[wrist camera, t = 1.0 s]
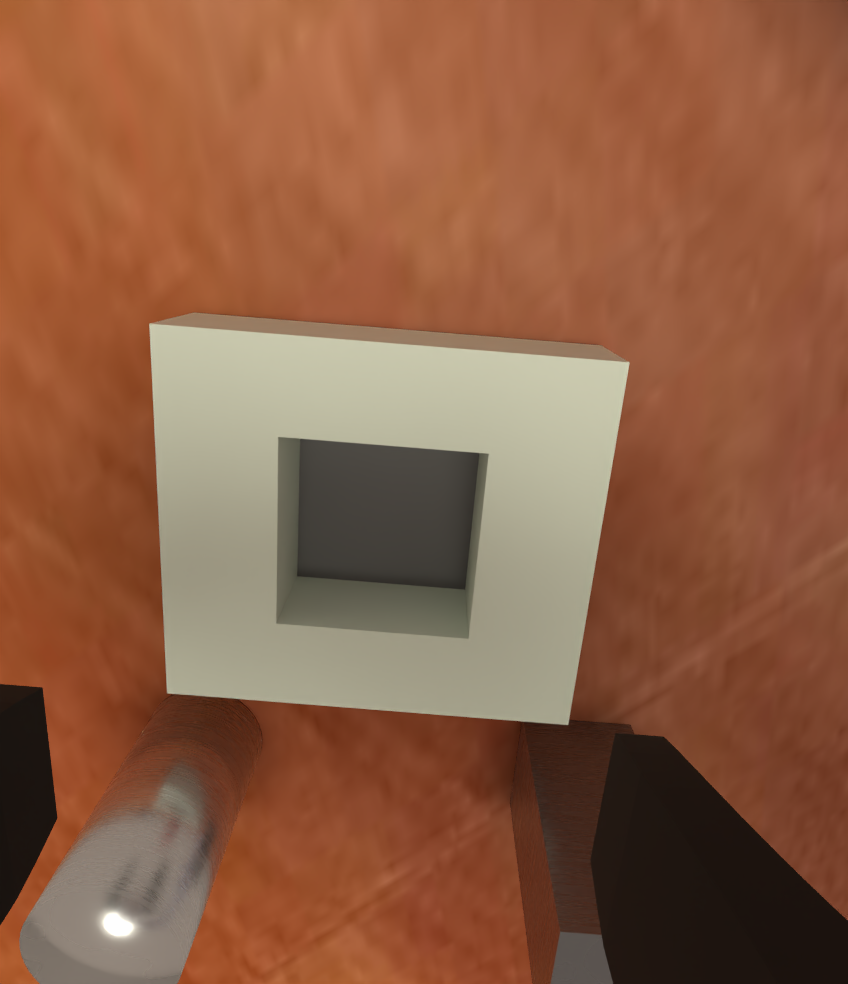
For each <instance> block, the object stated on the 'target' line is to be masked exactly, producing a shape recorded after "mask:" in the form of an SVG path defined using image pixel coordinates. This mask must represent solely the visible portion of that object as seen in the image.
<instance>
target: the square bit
mask: <svg viewBox="0 0 848 984" xmlns="http://www.w3.org/2000/svg"><path fill="white" fill-rule="evenodd" d="M615 733H623V734H634V733H633V730H632V728H631V725H625V724H612V723H599V722H587V721H574V720H569V723H568V725H562V724H549V723H536V722H524V721H522V724H521V730H520V737H519V744H518V751H517V758H516V765H515V772H514V779H513V786H512V793H511V800H510V807H511V815H512V823H513V831H514V839H515V847H516V855H517V863H518V871H519V879H520V887H521V895H522V903H523V911H524V919H525V927H526V935H527V943H528V951H529V959H530V967H531V975H532V983H533V984H613V981H612V978H611V974H610V970H609V966H608V962H607V958H606V954H605V950H604V947H603V941H602V935H601V928H600V922H599V916H598V910H597V904H596V897H595V890H594V883H593V876H592V869H591V862H590V858H591V853H592V848H593V843H594V838H595V833H596V828H597V823H598V818H599V812H600V807H601V802H602V797H603V792H604V787H605V782H606V777H607V772H608V766H609V761H610V756H611V751H612V746H613V741H614V736H615Z"/></svg>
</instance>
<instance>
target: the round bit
mask: <svg viewBox="0 0 848 984" xmlns="http://www.w3.org/2000/svg"><path fill="white" fill-rule="evenodd" d="M261 748H262V734H261V730H260V727H259V724H258V722H257V720H256V718H255V717H254V715H253V714H252V713H251V711H250V710H249V709H248V708H247V707H246V706H245V705H243V704H242V703H241V702H240V701H238V700H237V699H233V698H221V697H208V696H195V695H183V694H173V695H171V696H169V697H168V698H167V699H165V700H164V701H163V702H162V703H161V704H160V705H159V706H158V707H157V709H156V710H155V712H154V713H153V715H152V717H151V718H150V720H149V721H148V723H147V725H146V726H145V728H144V729H143V731H142V733H141V734H140V736H139V738H138V739H137V741H136V742H135V744H134V746H133V747H132V749H131V751H130V752H129V754H128V755H127V757H126V759H125V760H124V762H123V763H122V765H121V767H120V768H119V770H118V772H117V773H116V775H115V776H114V778H113V780H112V781H111V783H110V785H109V786H108V788H107V789H106V791H105V793H104V794H103V796H102V797H101V799H100V801H99V802H98V804H97V806H96V807H95V809H94V810H93V812H92V814H91V815H90V817H89V818H88V820H87V822H86V823H85V825H84V827H83V828H82V830H81V831H80V833H79V835H78V836H77V838H76V840H75V841H74V843H73V844H72V846H71V848H70V849H69V851H68V852H67V854H66V856H65V857H64V859H63V861H62V862H61V864H60V865H59V867H58V869H57V870H56V872H55V874H54V875H53V877H52V878H51V880H50V882H49V883H48V885H47V886H46V888H45V890H44V891H43V893H42V895H41V896H40V898H39V899H38V901H37V903H36V904H35V906H34V907H33V909H32V911H31V912H30V914H29V916H28V917H27V919H26V921H25V923H24V924H23V927H22V930H21V933H20V940H19V941H20V951H21V955H22V958H23V960H24V963H25V965H26V967H27V968H28V970H29V972H30V973H31V974H32V975H33V977H34V978H35V979H36V980H37V981H38V982H39V983H40V984H177V983H178V981H179V978H180V976H181V973H182V971H183V968H184V965H185V962H186V959H187V957H188V954H189V951H190V948H191V945H192V943H193V940H194V937H195V934H196V931H197V929H198V926H199V923H200V920H201V917H202V915H203V912H204V909H205V906H206V903H207V901H208V898H209V895H210V892H211V889H212V887H213V884H214V881H215V878H216V875H217V873H218V870H219V867H220V864H221V861H222V859H223V856H224V853H225V850H226V847H227V845H228V842H229V839H230V836H231V833H232V831H233V828H234V825H235V822H236V819H237V817H238V814H239V811H240V808H241V805H242V803H243V800H244V797H245V794H246V791H247V789H248V786H249V783H250V780H251V777H252V775H253V772H254V769H255V766H256V763H257V761H258V758H259V755H260V752H261Z"/></svg>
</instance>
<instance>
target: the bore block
mask: <svg viewBox="0 0 848 984" xmlns="http://www.w3.org/2000/svg"><path fill="white" fill-rule="evenodd" d="M149 325H150V346H151V367H152V388H153V409H154V430H155V451H156V472H157V493H158V514H159V535H160V555H161V576H162V597H163V618H164V639H165V660H166V681H167V693H170V694H183V695H195V696H208V697H221V698H233V699H246V700H259V701H271V702H284V703H297V704H309V705H322V706H334V707H347V708H360V709H372V710H385V711H398V712H410V713H423V714H435V715H448V716H461V717H473V718H486V719H499V720H511V721H524V722H536V723H549V724H562V725H568V723H569V717H570V711H571V705H572V699H573V693H574V687H575V682H576V676H577V670H578V664H579V658H580V652H581V646H582V640H583V634H584V628H585V623H586V617H587V611H588V605H589V599H590V593H591V587H592V581H593V575H594V569H595V564H596V558H597V552H598V546H599V540H600V534H601V528H602V522H603V516H604V510H605V505H606V499H607V493H608V487H609V481H610V475H611V469H612V463H613V457H614V451H615V446H616V440H617V434H618V428H619V422H620V416H621V410H622V404H623V398H624V392H625V387H626V381H627V375H628V369H629V363H630V362H628V361H626V360H625V359H623V358H621V357H620V356H618V355H616V354H615V353H613V352H611V351H610V350H608V349H606V348H605V347H603V346H601V345H590V344H578V343H566V342H553V341H541V340H528V339H516V338H503V337H491V336H479V335H466V334H454V333H441V332H429V331H417V330H404V329H392V328H379V327H367V326H355V325H342V324H330V323H317V322H305V321H292V320H280V319H268V318H255V317H243V316H230V315H218V314H206V313H190V314H186V315H182V316H178V317H174V318H170V319H166V320H162V321H158V322H154V323H150V324H149Z"/></svg>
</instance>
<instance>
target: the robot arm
mask: <svg viewBox="0 0 848 984" xmlns="http://www.w3.org/2000/svg"><path fill="white" fill-rule="evenodd" d="M56 820H57V811H56V802H55V794H54V785H53V776H52V767H51V759H50V750H49V741H48V732H47V724H46V715H45V706H44V697H43V688H41V687H29V686H16V685H3V684H0V925H1V923H2V922H3V920H4V919H5V917H6V915H7V914H8V912H9V911H10V909H11V908H12V906H13V904H14V903H15V901H16V899H17V898H18V896H19V894H20V892H21V890H22V888H23V886H24V884H25V882H26V880H27V878H28V877H29V875H30V873H31V871H32V869H33V867H34V865H35V863H36V861H37V859H38V857H39V855H40V853H41V851H42V849H43V847H44V845H45V843H46V840H47V838H48V836H49V834H50V832H51V830H52V828H53V826H54V824H55V822H56ZM590 862H591V869H592V876H593V883H594V890H595V897H596V904H597V910H598V916H599V922H600V928H601V935H602V941H603V947H604V950H605V954H606V958H607V962H608V966H609V970H610V974H611V978H612V981H613V984H848V920H847V919H845V918H844V917H843V916H842V915H841V914H840V913H839V912H838V911H837V910H836V909H834V908H833V907H832V906H831V905H830V904H829V903H828V902H827V901H826V900H825V899H824V898H823V897H822V896H821V895H820V894H819V893H818V892H817V891H816V890H815V889H813V888H812V887H811V886H810V885H809V884H808V883H807V882H806V881H805V880H804V879H803V878H802V877H801V876H800V875H799V874H798V873H797V872H796V871H795V870H794V869H793V868H792V867H791V866H790V865H789V864H788V863H787V862H786V861H785V860H784V859H783V858H782V857H781V856H780V855H779V854H778V853H777V852H776V851H775V850H774V849H773V848H772V847H771V846H770V845H769V844H768V843H767V842H766V841H765V840H764V839H763V838H762V837H761V836H760V835H759V834H758V833H757V832H756V831H755V830H754V829H753V828H752V827H751V826H750V825H749V824H748V823H747V822H746V821H745V820H744V819H743V818H742V817H741V816H740V815H739V814H738V813H737V812H736V811H735V810H734V809H733V808H732V807H731V806H730V804H729V803H728V802H727V801H726V800H725V799H724V798H723V797H722V796H721V795H720V794H719V793H718V792H717V791H716V790H715V789H714V788H713V787H712V786H711V785H710V784H709V783H708V782H707V781H706V779H705V778H704V777H703V776H702V775H701V774H700V773H699V772H698V771H697V770H696V769H695V768H694V767H693V766H692V765H691V764H690V763H689V762H688V761H687V760H686V759H685V758H684V757H683V756H682V755H681V753H680V752H679V751H678V750H677V749H676V748H675V747H674V746H673V745H672V744H671V743H670V742H668V741H667V740H666V739H665V738H664V737H660V736H648V735H635V734H623V733H615V736H614V741H613V746H612V751H611V756H610V761H609V766H608V772H607V777H606V782H605V787H604V792H603V797H602V802H601V807H600V812H599V818H598V823H597V828H596V833H595V838H594V843H593V848H592V853H591V858H590Z"/></svg>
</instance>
